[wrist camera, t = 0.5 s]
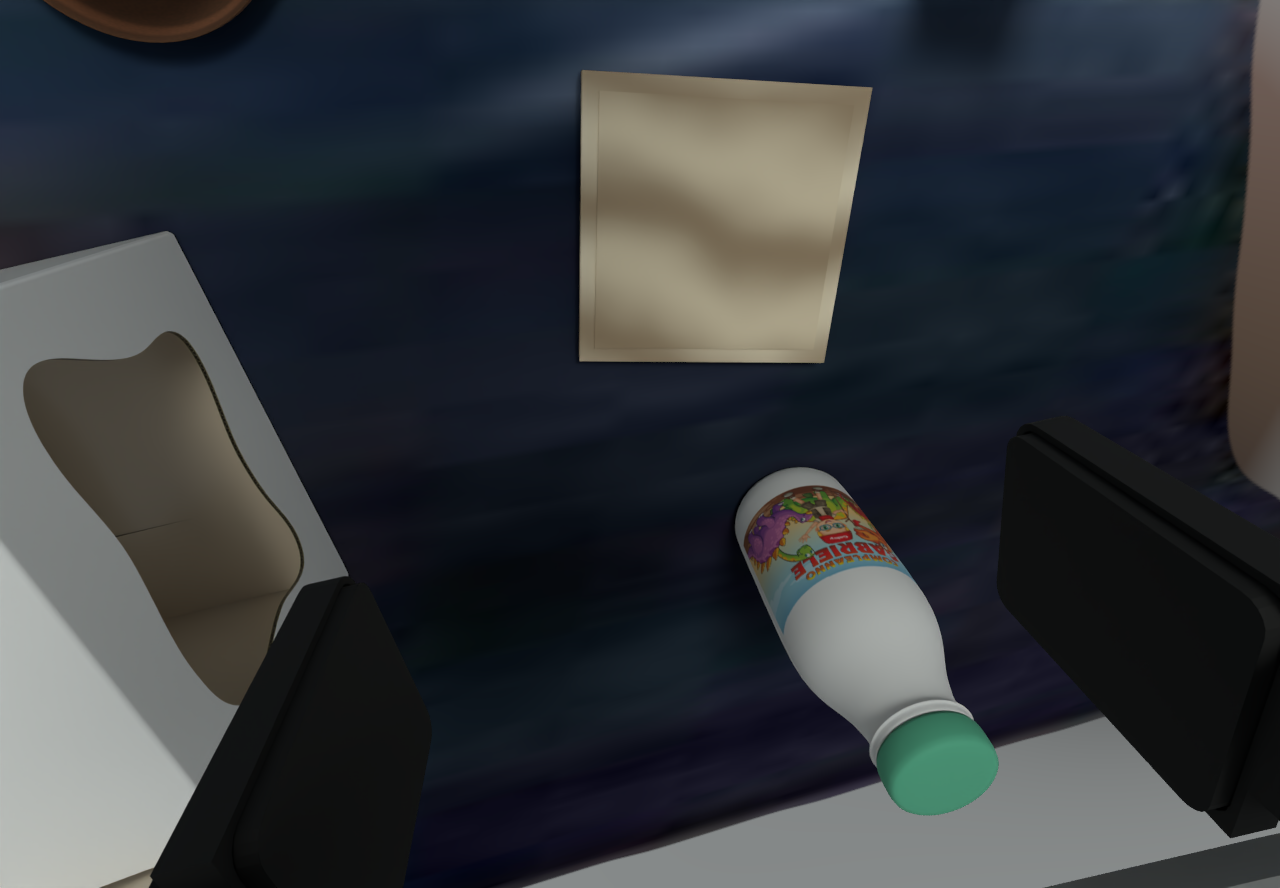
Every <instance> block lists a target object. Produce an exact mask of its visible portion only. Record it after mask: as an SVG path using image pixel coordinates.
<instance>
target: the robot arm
mask: <svg viewBox="0 0 1280 888" xmlns="http://www.w3.org/2000/svg"><path fill="white" fill-rule="evenodd" d="M997 589H998V593H999V596H1000V598H1001V600H1002V602H1003V604H1004V605H1005V607H1006V608H1007V609H1008V610H1009V612H1010V613H1011V614H1012V615H1013V616H1014V617H1015V618H1016V619H1017V620H1018V621H1019V622H1020V624H1021V625H1022V626H1023V627H1024V628H1025V629H1026V630H1027V631H1028V632H1029V633H1030V634H1031V636H1032V637H1033V638H1034V639H1035V640H1036V641H1037V642H1038V643H1039V644H1040V645H1041V646H1042V648H1043V649H1044V650H1045V651H1046V652H1047V653H1048V654H1049V655H1050V656H1051V657H1052V658H1053V660H1054V661H1055V662H1056V663H1057V664H1058V665H1059V666H1060V667H1061V668H1062V669H1063V671H1064V672H1065V673H1066V674H1067V675H1068V676H1069V677H1070V678H1071V679H1072V680H1073V681H1074V683H1075V684H1076V685H1077V686H1078V687H1079V688H1080V689H1081V690H1082V691H1083V692H1084V693H1085V695H1086V696H1087V697H1088V698H1089V699H1090V700H1091V701H1092V702H1093V703H1094V704H1095V705H1096V707H1097V708H1098V709H1099V710H1100V711H1101V712H1102V713H1103V714H1104V715H1105V716H1106V717H1107V718H1108V720H1109V721H1110V722H1111V723H1112V724H1113V725H1114V726H1115V727H1116V728H1117V729H1118V731H1119V732H1120V733H1121V734H1122V735H1123V736H1124V737H1125V738H1126V739H1127V740H1128V741H1129V743H1130V744H1131V745H1132V746H1133V747H1134V748H1135V749H1136V750H1137V751H1138V752H1139V753H1140V755H1141V756H1142V757H1143V758H1144V759H1145V760H1146V761H1147V762H1148V763H1149V764H1150V765H1151V767H1152V768H1153V769H1154V770H1155V771H1156V772H1157V773H1158V774H1159V775H1160V776H1161V778H1162V779H1163V780H1164V781H1165V782H1166V783H1167V784H1168V785H1169V786H1170V787H1171V788H1172V790H1173V791H1174V792H1175V793H1176V794H1177V795H1178V796H1179V797H1180V798H1181V799H1182V800H1183V801H1184V802H1185V803H1186V804H1187V805H1189V806H1190V807H1191V808H1193V809H1195V810H1197V811H1201V812H1203V811H1205V812H1206V813H1207V814H1208V815H1209V816H1210V817H1211V818H1212V819H1213V820H1214V821H1215V822H1216V824H1217V825H1218V826H1219V827H1220V828H1221V829H1222V830H1223V831H1224V832H1225V833H1226V834H1227V835H1228V836H1229V837H1230V838H1234V837H1238V836H1242V835H1246V834H1250V833H1254V832H1259V831H1263V830H1267V829H1271V828H1276V825H1277V823H1278V821H1280V540H1279V539H1277V538H1276V537H1274V536H1272V535H1271V534H1269V533H1267V532H1266V531H1264V530H1262V529H1260V528H1259V527H1257V526H1255V525H1254V524H1252V523H1250V522H1249V521H1247V520H1245V519H1243V518H1242V517H1240V516H1238V515H1237V514H1235V513H1233V512H1232V511H1230V510H1228V509H1226V508H1225V507H1223V506H1221V505H1220V504H1218V503H1216V502H1215V501H1213V500H1211V499H1209V498H1208V497H1206V496H1204V495H1203V494H1201V493H1199V492H1198V491H1196V490H1194V489H1193V488H1191V487H1189V486H1187V485H1186V484H1184V483H1182V482H1181V481H1179V480H1177V479H1176V478H1174V477H1172V476H1170V475H1169V474H1167V473H1165V472H1164V471H1162V470H1160V469H1159V468H1157V467H1155V466H1153V465H1152V464H1150V463H1148V462H1147V461H1145V460H1143V459H1142V458H1140V457H1138V456H1136V455H1135V454H1133V453H1131V452H1130V451H1128V450H1126V449H1125V448H1123V447H1121V446H1119V445H1118V444H1116V443H1114V442H1113V441H1111V440H1109V439H1108V438H1106V437H1104V436H1102V435H1101V434H1099V433H1097V432H1096V431H1094V430H1092V429H1091V428H1089V427H1087V426H1085V425H1084V424H1082V423H1080V422H1079V421H1077V420H1075V419H1074V418H1071V417H1068V416H1060V417H1055V418H1051V419H1046V420H1042V421H1037V422H1033V423H1028V424H1024V425H1023V426H1021V427H1020V429H1019V430H1018V432H1017V436H1016V437H1013V438H1012V439H1010V441H1009V443H1008V446H1007V456H1006V469H1005V482H1004V495H1003V508H1002V521H1001V534H1000V547H999V560H998V573H997ZM431 736H432V728H431V721H430V716H429V714H428V711H427V709H426V707H425V705H424V702H423V700H422V698H421V696H420V694H419V692H418V690H417V688H416V686H415V683H414V681H413V679H412V677H411V675H410V673H409V671H408V669H407V667H406V664H405V662H404V660H403V658H402V656H401V654H400V652H399V650H398V648H397V645H396V643H395V641H394V639H393V637H392V635H391V633H390V631H389V629H388V626H387V624H386V622H385V620H384V618H383V616H382V614H381V612H380V610H379V607H378V605H377V603H376V601H375V599H374V597H373V595H372V593H371V591H370V589H369V587H368V586H367V585H366V584H365V583H358V584H356V583H355V582H354V580H353V579H351V578H350V577H348V576H343V577H338V578H334V579H329V580H325V581H320V582H316V583H311V584H307V585H305V586H303V587H302V589H301V590H300V591H299V593H298V595H297V597H296V599H295V601H294V603H293V605H292V606H291V608H290V610H289V612H288V614H287V616H286V618H285V620H284V622H283V624H282V625H281V627H280V629H279V631H278V633H277V635H276V637H275V639H274V641H273V643H272V644H271V646H270V648H269V650H268V652H267V654H266V656H265V658H264V660H263V662H262V664H261V665H260V667H259V669H258V671H257V673H256V675H255V677H254V679H253V681H252V683H251V684H250V686H249V688H248V690H247V692H246V694H245V696H244V698H243V700H242V702H241V703H240V705H239V707H238V709H237V711H236V713H235V715H234V717H233V719H232V721H231V722H230V724H229V726H228V728H227V730H226V732H225V734H224V736H223V738H222V740H221V741H220V743H219V745H218V747H217V749H216V751H215V753H214V755H213V757H212V759H211V760H210V762H209V764H208V766H207V768H206V770H205V772H204V774H203V776H202V778H201V780H200V781H199V783H198V785H197V787H196V789H195V791H194V793H193V795H192V797H191V799H190V800H189V802H188V804H187V806H186V808H185V810H184V812H183V814H182V816H181V818H180V819H179V821H178V823H177V825H176V827H175V829H174V831H173V833H172V835H171V837H170V838H169V840H168V842H167V844H166V846H165V848H164V850H163V852H162V854H161V856H160V857H159V859H158V861H157V863H156V865H155V867H154V869H153V871H152V873H151V875H150V877H151V878H152V882H151V884H150V886H149V888H403V884H404V879H405V874H406V869H407V863H408V858H409V853H410V848H411V843H412V837H413V832H414V827H415V822H416V816H417V811H418V806H419V801H420V796H421V790H422V785H423V780H424V775H425V770H426V764H427V759H428V754H429V749H430V743H431ZM1045 888H1280V833H1279V834H1274V835H1269V836H1265V837H1261V838H1256V839H1252V840H1247V841H1243V842H1239V843H1234V844H1230V845H1226V846H1221V847H1217V848H1213V849H1208V850H1204V851H1200V852H1196V853H1191V854H1187V855H1183V856H1178V857H1174V858H1170V859H1165V860H1161V861H1157V862H1153V863H1148V864H1145V865H1140V866H1135V867H1131V868H1127V869H1122V870H1118V871H1114V872H1110V873H1105V874H1101V875H1097V876H1093V877H1088V878H1084V879H1080V880H1075V881H1071V882H1067V883H1062V884H1058V885H1054V886H1050V887H1045Z"/></svg>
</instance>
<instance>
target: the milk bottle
mask: <svg viewBox="0 0 1280 888" xmlns="http://www.w3.org/2000/svg"><path fill="white" fill-rule="evenodd" d="M735 532H736V537H737V540H738V543H739V545H740V548H741V550H742V553H743V555H744V557H745V560H746V562H747V565H748V567H749V569H750V571H751V574H752V576H753V578H754V581H755V583H756V585H757V588H758V590H759V592H760V594H761V597H762V599H763V601H764V604H765V606H766V608H767V610H768V613H769V615H770V617H771V619H772V621H773V624H774V626H775V628H776V630H777V633H778V635H779V637H780V639H781V641H782V643H783V645H784V647H785V649H786V651H787V653H788V655H789V657H790V659H791V661H792V663H793V665H794V666H795V668H796V670H797V671H798V673H799V674H800V676H801V677H802V679H803V680H804V681H805V683H806V684H807V685H808V686H809V687H810V689H811V690H812V691H813V692H814V693H815V694H816V695H817V696H818V697H819V698H820V699H821V700H822V701H824V702H825V703H826V704H827V705H829V706H830V707H831V708H833V709H834V710H835V711H837V712H838V713H839V714H841V715H842V716H843V717H845V718H846V719H847V720H848V721H849V722H851V723H852V724H853V725H854V726H855V727H856V728H857V729H858V730H859V731H860V732H861V733H862V735H863V736H864V737H865V738H866V739H867V741H868V742H869V743H870V757H871V760H872V762H873V763H874V765H875V766H876V767H877V770H878V773H879V775H880V778H881V780H882V782H883V784H884V786H885V788H886V790H887V792H888V794H889V795H890V797H891V799H892V800H893V801H894V802H895V803H896V804H897V805H898V806H899V807H900V808H901V809H903V810H905V811H907V812H909V813H913V814H918V815H939V814H944V813H948V812H951V811H954V810H957V809H959V808H962V807H964V806H966V805H968V804H969V803H971V802H973V801H974V800H975V799H977V798H978V797H979V796H981V795H982V794H983V793H984V792H985V791H986V790H987V789H988V788H989V786H990V785H991V784H992V782H993V780H994V778H995V776H996V774H997V770H998V765H999V762H998V757H997V754H996V751H995V749H994V747H993V745H992V744H991V742H990V741H989V739H988V737H987V736H986V734H985V733H984V732H983V730H982V729H981V728H980V726H979V725H978V724H977V723H976V722H975V721H974V720H973V717H972V715H971V713H970V712H969V711H968V710H967V709H966V708H965V707H964V706H962V705H961V704H959V703H957V702H956V701H955V700H954V697H953V695H952V692H951V689H950V686H949V682H948V678H947V674H946V668H945V659H944V650H943V643H942V637H941V633H940V629H939V626H938V623H937V620H936V618H935V615H934V613H933V611H932V609H931V607H930V605H929V603H928V601H927V599H926V597H925V596H924V594H923V593H922V591H921V590H920V588H919V587H918V585H917V584H916V582H915V581H914V580H913V578H912V577H911V575H910V574H909V572H908V571H907V570H906V568H905V567H904V566H903V564H902V563H901V562H900V560H899V559H898V558H897V556H896V555H895V554H894V552H893V551H892V550H891V548H890V547H889V546H888V544H887V543H886V542H885V540H884V539H883V538H882V536H881V535H880V534H879V533H878V531H877V530H876V529H875V527H874V526H873V525H872V523H871V522H870V521H869V520H868V518H867V517H866V516H865V514H864V513H863V512H862V511H861V509H860V508H859V507H858V505H857V504H856V503H855V502H854V500H853V499H852V498H851V496H850V495H849V494H848V493H847V491H846V490H845V489H844V488H843V487H842V486H841V484H840V483H839V482H838V481H837V480H836V479H835V478H833V477H832V476H830V475H829V474H827V473H825V472H823V471H820V470H816V469H812V468H804V467H794V468H786V469H783V470H779V471H776V472H774V473H772V474H770V475H768V476H765V477H764V478H763V479H761V480H760V481H758V482H757V483H756V484H755V485H754V486H753V487H752V488H751V489H750V490H749V491H748V492H747V494H746V495H745V497H744V498H743V499H742V502H741V504H740V506H739V508H738V511H737V515H736V520H735Z"/></svg>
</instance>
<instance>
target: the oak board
mask: <svg viewBox="0 0 1280 888" xmlns="http://www.w3.org/2000/svg"><path fill="white" fill-rule="evenodd" d="M871 93H872V88H869V87H852V86H836V85H820V84H803V83H787V82H770V81H754V80H738V79H721V78H705V77H689V76H672V75H656V74H639V73H623V72H607V71H590V70H582V71H581V141H580V267H579V360H580V361H621V362H775V363H824V359H825V353H826V347H827V342H828V336H829V330H830V325H831V319H832V313H833V308H834V302H835V296H836V291H837V285H838V279H839V274H840V268H841V262H842V257H843V251H844V245H845V240H846V234H847V228H848V223H849V217H850V211H851V206H852V200H853V194H854V189H855V183H856V177H857V172H858V166H859V160H860V155H861V149H862V143H863V138H864V132H865V126H866V121H867V115H868V109H869V104H870V98H871Z"/></svg>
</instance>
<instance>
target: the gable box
mask: <svg viewBox="0 0 1280 888" xmlns="http://www.w3.org/2000/svg"><path fill="white" fill-rule="evenodd" d="M343 576H348V572H347V570H346V568H345V566H344V564H343V562H342V560H341V558H340V556H339V554H338V552H337V550H336V548H335V547H334V545H333V543H332V541H331V539H330V537H329V535H328V533H327V531H326V529H325V527H324V525H323V523H322V521H321V519H320V517H319V515H318V514H317V512H316V510H315V508H314V506H313V504H312V502H311V500H310V498H309V496H308V494H307V492H306V490H305V488H304V486H303V484H302V482H301V481H300V479H299V477H298V475H297V473H296V471H295V469H294V467H293V465H292V463H291V461H290V459H289V457H288V455H287V453H286V451H285V449H284V448H283V446H282V444H281V442H280V440H279V438H278V436H277V434H276V432H275V430H274V428H273V426H272V424H271V422H270V420H269V418H268V416H267V415H266V413H265V411H264V409H263V407H262V405H261V403H260V401H259V399H258V397H257V395H256V393H255V391H254V389H253V387H252V385H251V383H250V382H249V380H248V378H247V376H246V374H245V372H244V370H243V368H242V366H241V364H240V362H239V360H238V358H237V356H236V354H235V352H234V350H233V349H232V347H231V345H230V343H229V341H228V339H227V337H226V335H225V333H224V331H223V329H222V327H221V325H220V323H219V321H218V319H217V317H216V316H215V314H214V312H213V310H212V308H211V306H210V304H209V302H208V300H207V298H206V296H205V294H204V292H203V290H202V288H201V286H200V284H199V283H198V281H197V279H196V277H195V275H194V273H193V271H192V269H191V267H190V265H189V263H188V261H187V259H186V257H185V255H184V253H183V251H182V250H181V248H180V246H179V244H178V242H177V240H176V238H175V236H174V234H172V233H170V232H168V231H164V232H160V233H156V234H152V235H147V236H143V237H139V238H135V239H130V240H126V241H122V242H117V243H113V244H109V245H105V246H100V247H96V248H92V249H88V250H83V251H79V252H75V253H70V254H66V255H62V256H58V257H53V258H49V259H45V260H41V261H36V262H32V263H28V264H23V265H19V266H15V267H11V268H6V269H2V270H0V888H149V886H150V884H151V882H152V878H151V877H150V875H151V873H152V871H153V869H154V867H155V865H156V863H157V861H158V859H159V857H160V856H161V854H162V852H163V850H164V848H165V846H166V844H167V842H168V840H169V838H170V837H171V835H172V833H173V831H174V829H175V827H176V825H177V823H178V821H179V819H180V818H181V816H182V814H183V812H184V810H185V808H186V806H187V804H188V802H189V800H190V799H191V797H192V795H193V793H194V791H195V789H196V787H197V785H198V783H199V781H200V780H201V778H202V776H203V774H204V772H205V770H206V768H207V766H208V764H209V762H210V760H211V759H212V757H213V755H214V753H215V751H216V749H217V747H218V745H219V743H220V741H221V740H222V738H223V736H224V734H225V732H226V730H227V728H228V726H229V724H230V722H231V721H232V719H233V717H234V715H235V713H236V711H237V709H238V707H239V705H240V703H241V702H242V700H243V698H244V696H245V694H246V692H247V690H248V688H249V686H250V684H251V683H252V681H253V679H254V677H255V675H256V673H257V671H258V669H259V667H260V665H261V664H262V662H263V660H264V658H265V656H266V654H267V652H268V650H269V648H270V646H271V644H272V643H273V641H274V639H275V637H276V635H277V633H278V631H279V629H280V627H281V625H282V624H283V622H284V620H285V618H286V616H287V614H288V612H289V610H290V608H291V606H292V605H293V603H294V601H295V599H296V597H297V595H298V593H299V591H300V590H301V589H302V587H303V586H305V585H307V584H311V583H316V582H320V581H325V580H329V579H334V578H338V577H343Z"/></svg>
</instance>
